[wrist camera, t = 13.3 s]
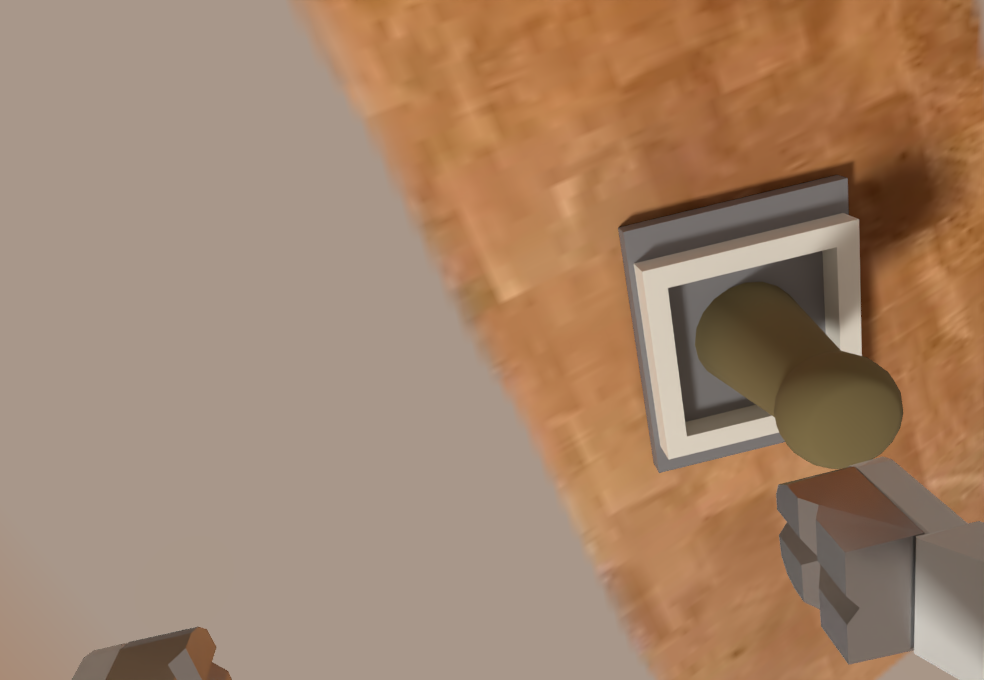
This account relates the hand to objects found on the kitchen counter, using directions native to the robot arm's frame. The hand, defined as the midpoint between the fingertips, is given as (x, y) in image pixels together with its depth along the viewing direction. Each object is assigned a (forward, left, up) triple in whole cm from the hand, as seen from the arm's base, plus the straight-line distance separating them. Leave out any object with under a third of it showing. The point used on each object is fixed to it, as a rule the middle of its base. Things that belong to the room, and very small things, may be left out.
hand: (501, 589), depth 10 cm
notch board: (+11, +15, -29) cm, 35 cm away
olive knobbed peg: (+11, +15, -28) cm, 34 cm away
